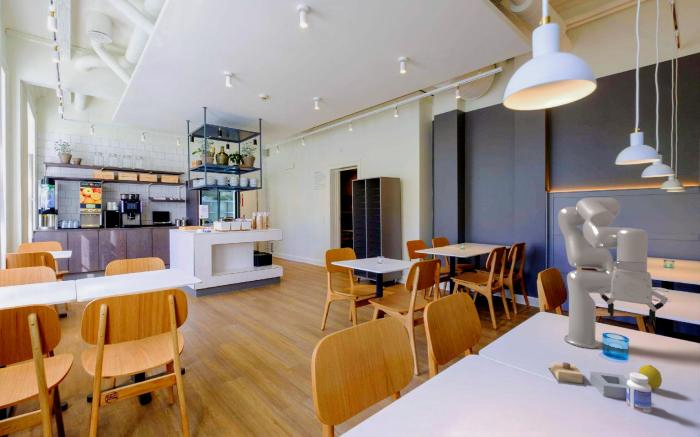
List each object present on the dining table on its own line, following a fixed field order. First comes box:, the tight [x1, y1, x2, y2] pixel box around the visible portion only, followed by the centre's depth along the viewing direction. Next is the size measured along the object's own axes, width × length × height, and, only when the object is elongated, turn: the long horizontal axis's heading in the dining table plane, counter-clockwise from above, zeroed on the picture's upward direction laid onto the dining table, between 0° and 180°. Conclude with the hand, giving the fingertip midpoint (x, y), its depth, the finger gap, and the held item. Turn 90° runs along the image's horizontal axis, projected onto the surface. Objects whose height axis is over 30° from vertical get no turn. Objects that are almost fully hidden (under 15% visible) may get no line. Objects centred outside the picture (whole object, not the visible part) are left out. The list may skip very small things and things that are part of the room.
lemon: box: [638, 364, 663, 391], centre depth 104 cm, size 6×6×8 cm
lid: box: [550, 361, 583, 383], centre depth 111 cm, size 7×7×4 cm
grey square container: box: [589, 371, 629, 400], centre depth 103 cm, size 9×9×4 cm
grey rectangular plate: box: [547, 367, 587, 388], centre depth 111 cm, size 11×8×1 cm
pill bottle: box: [625, 372, 652, 414], centre depth 94 cm, size 5×5×10 cm
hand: (630, 318), depth 106 cm, fingers open, 9 cm apart
